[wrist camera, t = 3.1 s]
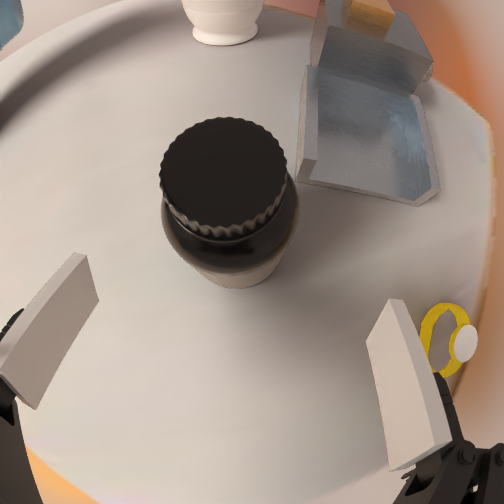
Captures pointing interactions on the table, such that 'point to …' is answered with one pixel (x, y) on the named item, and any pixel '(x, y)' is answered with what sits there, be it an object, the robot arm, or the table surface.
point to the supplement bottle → (228, 200)
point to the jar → (223, 20)
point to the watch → (461, 338)
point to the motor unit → (366, 104)
